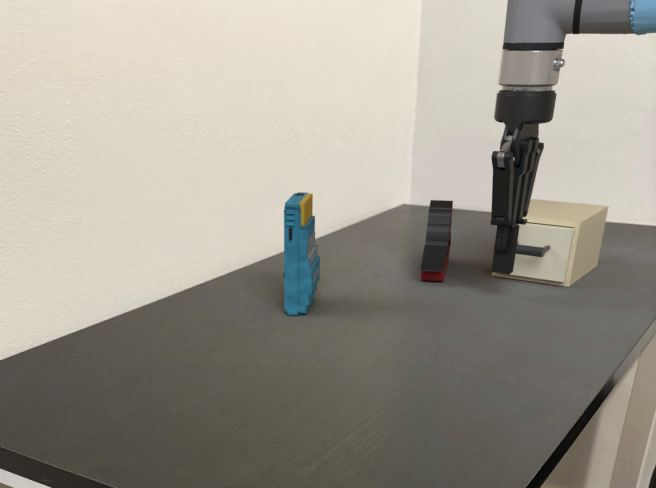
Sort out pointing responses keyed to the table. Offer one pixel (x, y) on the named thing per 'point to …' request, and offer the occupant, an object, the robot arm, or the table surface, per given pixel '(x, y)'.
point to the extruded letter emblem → (437, 241)
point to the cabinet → (586, 234)
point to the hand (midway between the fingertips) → (502, 271)
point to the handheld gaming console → (300, 254)
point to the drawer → (543, 251)
